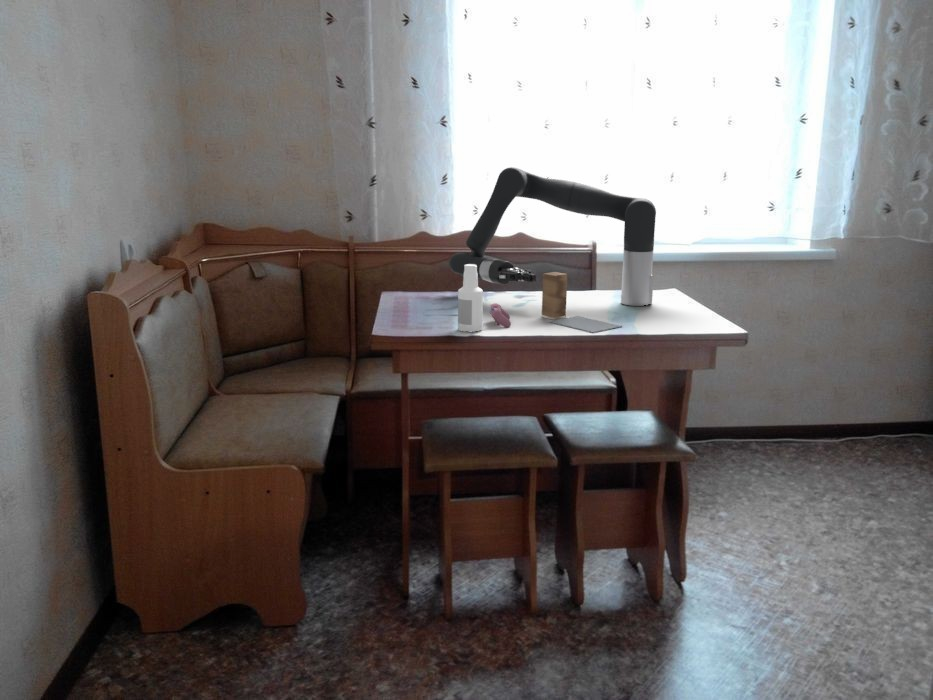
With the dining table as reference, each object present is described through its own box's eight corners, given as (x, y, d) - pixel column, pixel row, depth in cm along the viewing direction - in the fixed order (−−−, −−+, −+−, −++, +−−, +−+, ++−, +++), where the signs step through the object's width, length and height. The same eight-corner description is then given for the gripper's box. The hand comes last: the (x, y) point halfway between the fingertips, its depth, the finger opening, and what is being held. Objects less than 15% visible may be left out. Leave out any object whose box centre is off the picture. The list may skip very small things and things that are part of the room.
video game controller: (497, 325, 232) (486, 304, 230) (511, 318, 231) (500, 297, 229) (497, 333, 222) (486, 311, 221) (512, 326, 221) (501, 304, 220)
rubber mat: (548, 322, 229) (548, 321, 229) (577, 316, 236) (577, 315, 236) (593, 333, 216) (593, 332, 216) (621, 327, 223) (622, 325, 223)
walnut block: (553, 314, 239) (555, 271, 235) (565, 317, 235) (567, 274, 232) (541, 316, 236) (543, 273, 232) (553, 319, 232) (555, 275, 229)
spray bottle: (460, 326, 223) (461, 262, 218) (484, 327, 222) (485, 263, 217) (455, 331, 216) (455, 266, 212) (480, 333, 215) (480, 267, 210)
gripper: (480, 261, 247) (518, 268, 234) (512, 257, 255) (550, 264, 242) (480, 285, 249) (517, 293, 236) (511, 280, 257) (549, 288, 244)
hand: (534, 278), depth 239 cm, fingers closed
